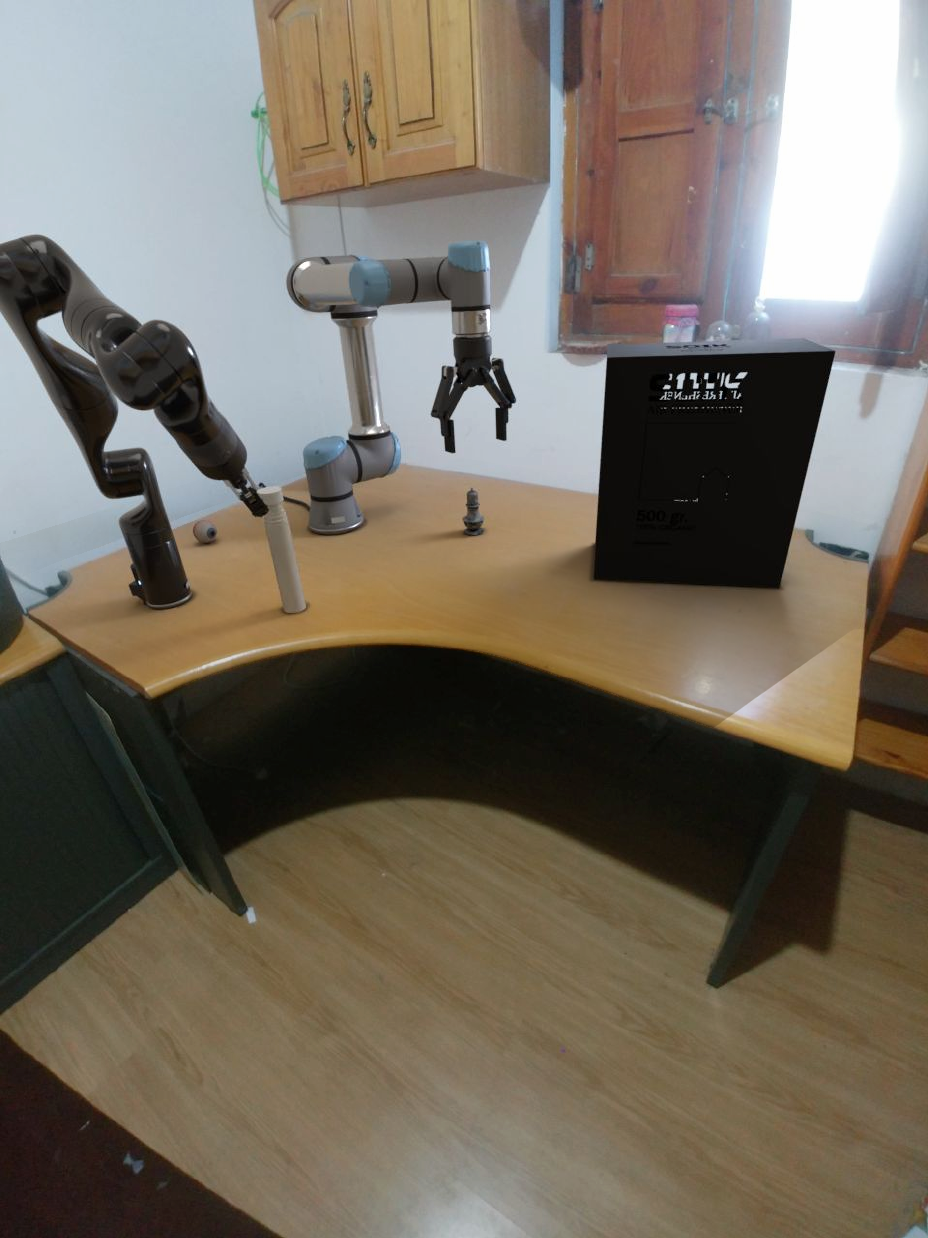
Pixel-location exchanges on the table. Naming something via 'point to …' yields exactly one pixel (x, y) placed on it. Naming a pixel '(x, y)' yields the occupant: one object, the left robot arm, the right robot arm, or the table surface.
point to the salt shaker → (473, 515)
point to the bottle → (284, 559)
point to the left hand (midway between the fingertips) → (250, 493)
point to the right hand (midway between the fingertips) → (476, 445)
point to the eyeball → (205, 531)
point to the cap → (271, 495)
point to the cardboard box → (706, 459)
